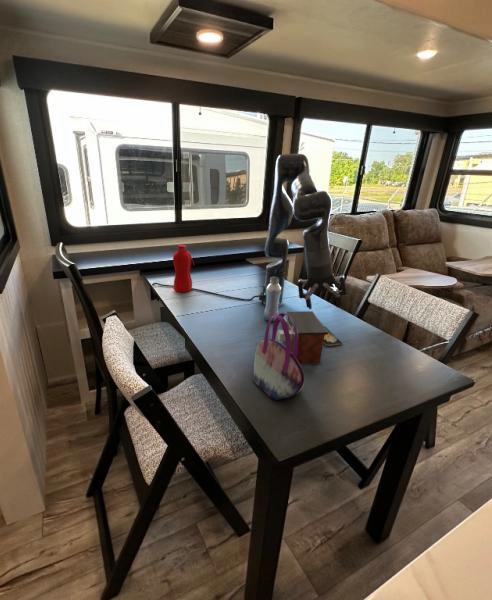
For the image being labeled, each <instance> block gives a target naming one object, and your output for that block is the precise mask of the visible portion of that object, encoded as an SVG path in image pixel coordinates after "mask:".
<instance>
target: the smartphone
mask: <svg viewBox="0 0 492 600" xmlns="http://www.w3.org/2000/svg"><path fill="white" fill-rule="evenodd" d="M323 326H324V327H325V329H326V330H327V331H328V334H325V336H324V342H323V345H324V346H326V347H332V346H340V345H341V346H342V344H343V342H342V341H341V340H340V339H339V338H338V337H337V336H336V335H335V334H333V332H332V331H330V330H329V329H328V327H326V326H325V325H323Z"/></svg>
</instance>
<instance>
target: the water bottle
mask: <svg viewBox="0 0 492 600" xmlns="http://www.w3.org/2000/svg"><path fill="white" fill-rule="evenodd" d="M176 249H177V251H176V252H175V253H173V257H172V263H173V266H174V269H175V271H174V272H175V274H174V280H173V286H174V287H173V289H174V291H176V292H178V293H189V292H190V291H191V288H193V280H192V279H193V278H192V277H191V276H192V275H191V266H192V263H193V265H195V264H194V263H195V262H192V261H194V260H193V259H194V258H192V254H191V252H189V250H188V249H187V246H186V245H185V244H179V245H177V247H176Z"/></svg>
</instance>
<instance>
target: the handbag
mask: <svg viewBox="0 0 492 600" xmlns="http://www.w3.org/2000/svg"><path fill="white" fill-rule="evenodd" d="M285 316H286V317H287V316H289V317H290V318H291V319H293V318H292V316H290V315H289V314H286V312H285V313H284V312H279V315H273V316H272V317H271V318H270V319H269V321H268V320H267V324H266V328H265V333H264V339H261V340H260V341H259V342H258V343H257V346H256V349H255V353H254V361H253V380H254V383H255V384H256V385H257V386H258V387H259V388H260V389H261V390H262V391H264V393H265V394H267V396H268V397H270V398H271V399H272V400H275V401H280V400H283V399H284V400H285V399H288V398H290V397H294V396H296V395H298V394H299V393H301V391H302V390H303V388H304V386H305V379H306V377H305V373H304V370H303V367H302V364H299V362H298V360H297V354H298V336H297V329H296V326H295V323H294V326H295V341H294V351H293V354H292V353H291V352H290V350H291V339H290V334H289V329H288V326H287V323H286V319H285V318H284V317H285ZM274 317H276V320H275V321H273V325H272V332H271V338H269V333H270V328H271V323H272V321H271V320H272V319H273V318H274ZM293 321H294V320H293ZM279 325H281V329H282V330H283V332H284V335H285V338H286V344H285V345H284V344H282V343H281V342H280V341H279V340H278V341H277V340H276V339H277V333H278V327H279Z"/></svg>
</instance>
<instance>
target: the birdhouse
mask: <svg viewBox="0 0 492 600" xmlns="http://www.w3.org/2000/svg"><path fill="white" fill-rule="evenodd" d="M285 314H289V315H290V316H292V318H293V319H291V318H290V317H289V316H287V315H286V319H285V321H286V323H287V326H288V329H289V330H291V331H292V332H293V338H292V341H291V350H290V352H291V353H292V354H293V351H294V341H295V326H296V329H297V336H298V354H297V360H298V362H299V364H300V365H308V364H309V365H312V364H314V365H315V364H316V365H318V364H320V363H321V359H322V353H323V348H324V343H323V342H324V336H325V334H328V331H327V330H326V329H325V327H326V326H325V325H324V324H323V323H322V322H321V321H320V319H319V318H318V317H317V315H316V314H315V313H314V312H313V311H310V310H308V311H307V310H306V311H305V310H304V311H303V310H302V311H299V310H297V311H286V312H285ZM293 320H294V321H293ZM294 323H295V326H294ZM324 326H325V327H324ZM284 343H285V345H286V341H284Z"/></svg>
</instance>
